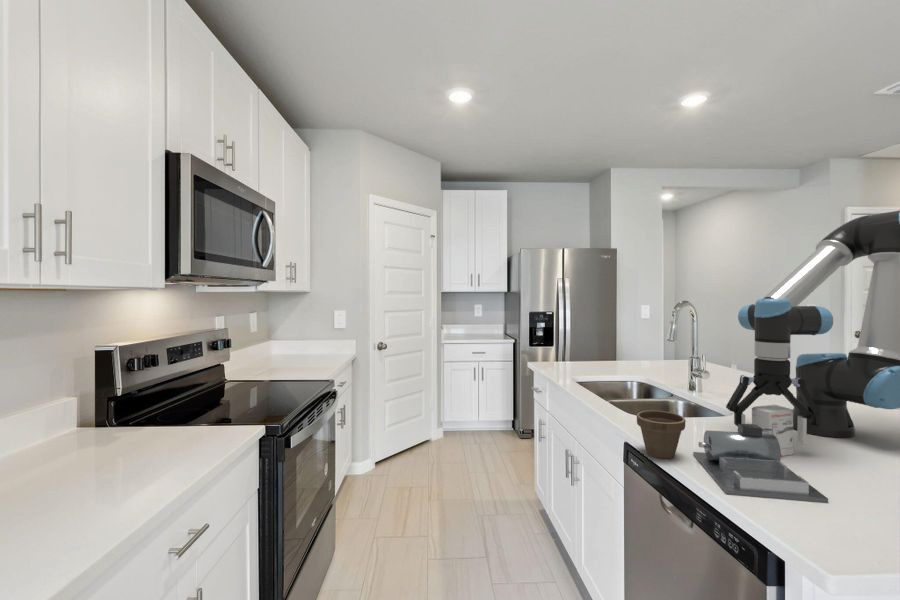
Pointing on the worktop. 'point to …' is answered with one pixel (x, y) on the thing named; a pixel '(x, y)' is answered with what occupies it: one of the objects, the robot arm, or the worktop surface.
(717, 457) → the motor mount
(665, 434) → the flower pot
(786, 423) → the ink box
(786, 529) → the worktop surface
